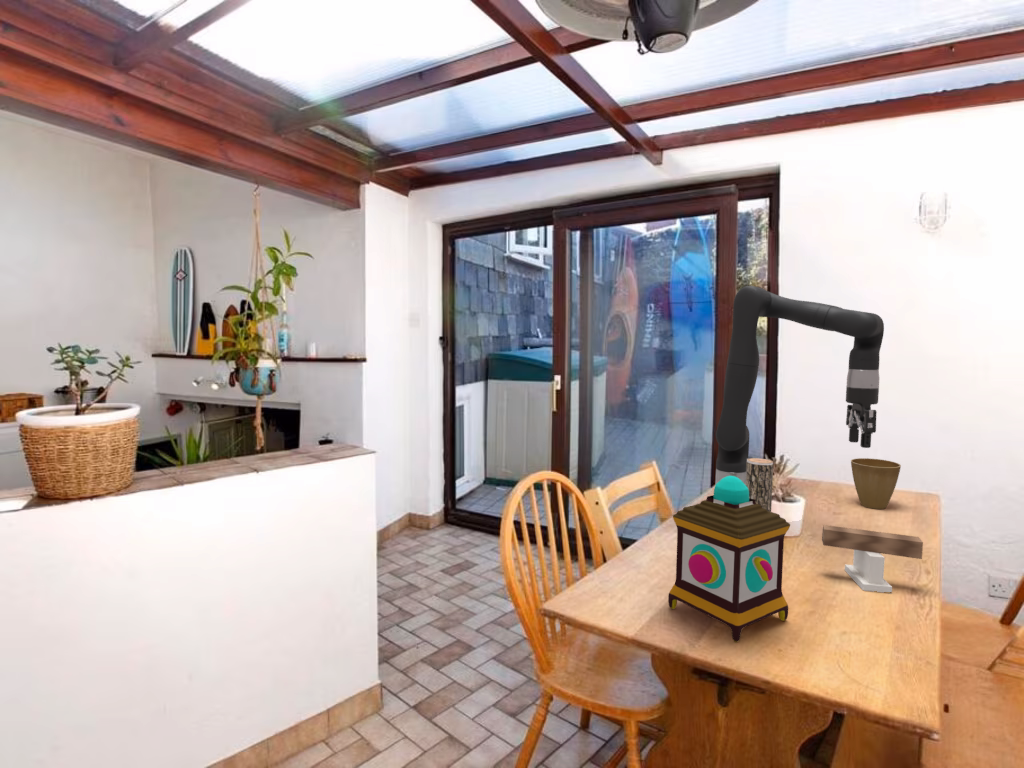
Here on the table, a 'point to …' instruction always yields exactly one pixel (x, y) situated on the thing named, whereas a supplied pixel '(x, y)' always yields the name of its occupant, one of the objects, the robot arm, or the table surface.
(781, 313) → the robot arm
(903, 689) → the table surface
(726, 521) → the decorative lantern
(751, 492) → the log stump
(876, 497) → the plant pot
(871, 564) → the white pedestal block
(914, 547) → the walnut bar
